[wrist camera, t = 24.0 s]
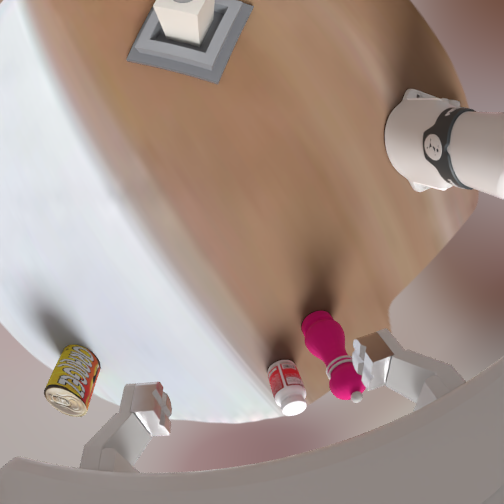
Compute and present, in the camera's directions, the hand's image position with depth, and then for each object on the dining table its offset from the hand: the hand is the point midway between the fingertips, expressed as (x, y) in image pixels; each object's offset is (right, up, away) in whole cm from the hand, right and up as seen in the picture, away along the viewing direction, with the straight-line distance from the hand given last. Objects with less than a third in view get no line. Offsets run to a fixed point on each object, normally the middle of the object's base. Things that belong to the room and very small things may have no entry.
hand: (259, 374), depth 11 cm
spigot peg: (-9, +36, +20) cm, 42 cm away
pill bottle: (+6, -19, +47) cm, 51 cm away
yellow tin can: (-36, -18, +39) cm, 56 cm away
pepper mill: (+12, -9, +43) cm, 46 cm away
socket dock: (-9, +36, +21) cm, 43 cm away
